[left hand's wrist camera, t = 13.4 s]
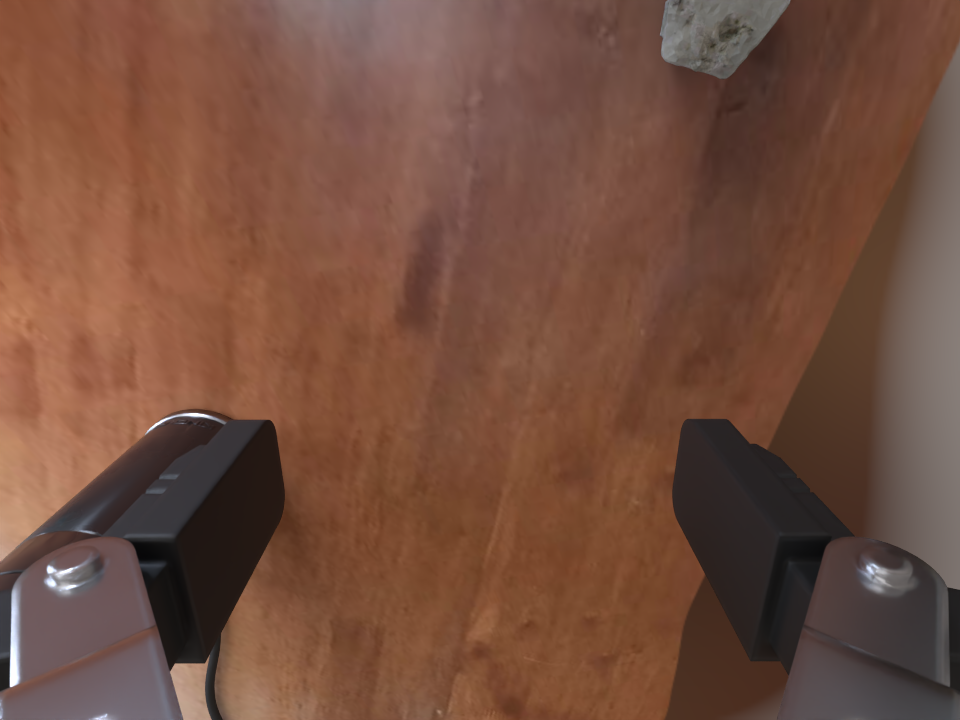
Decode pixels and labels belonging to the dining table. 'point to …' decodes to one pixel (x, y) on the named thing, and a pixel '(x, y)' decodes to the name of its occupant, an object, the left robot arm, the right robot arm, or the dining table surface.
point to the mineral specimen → (716, 32)
